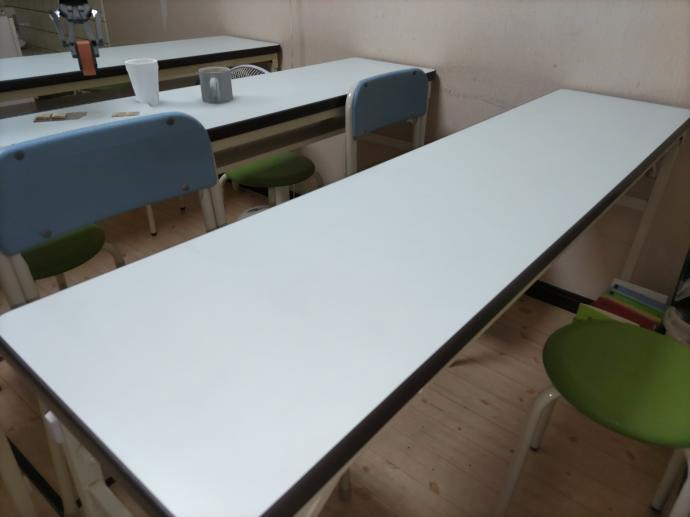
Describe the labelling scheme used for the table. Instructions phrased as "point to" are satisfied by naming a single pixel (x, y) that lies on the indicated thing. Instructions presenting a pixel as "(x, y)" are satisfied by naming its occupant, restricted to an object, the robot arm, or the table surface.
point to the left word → (59, 116)
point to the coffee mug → (216, 84)
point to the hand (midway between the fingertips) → (88, 67)
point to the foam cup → (144, 80)
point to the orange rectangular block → (86, 57)
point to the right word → (123, 114)
